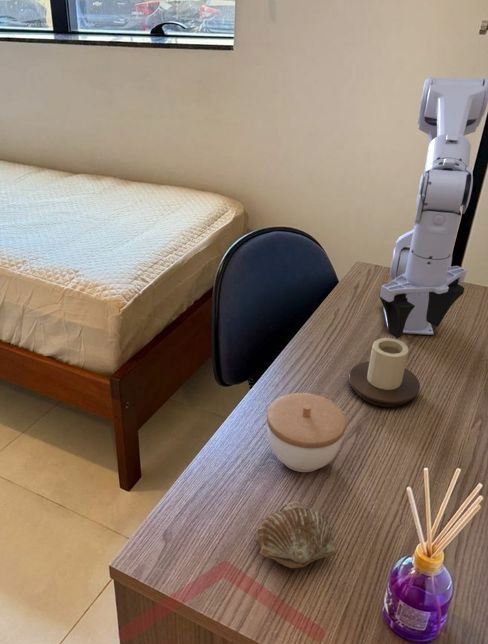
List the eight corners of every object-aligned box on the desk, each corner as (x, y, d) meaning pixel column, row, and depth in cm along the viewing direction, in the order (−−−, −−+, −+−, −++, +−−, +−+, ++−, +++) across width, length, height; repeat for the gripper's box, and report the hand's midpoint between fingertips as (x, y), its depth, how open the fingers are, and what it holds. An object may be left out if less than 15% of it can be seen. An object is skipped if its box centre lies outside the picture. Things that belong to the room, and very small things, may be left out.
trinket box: (335, 492, 81) (343, 440, 76) (257, 474, 84) (260, 424, 79) (343, 440, 89) (351, 390, 84) (271, 426, 93) (275, 377, 88)
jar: (365, 369, 101) (371, 336, 97) (399, 371, 100) (406, 339, 96) (368, 388, 96) (374, 355, 93) (403, 391, 95) (410, 357, 92)
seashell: (337, 582, 70) (320, 523, 77) (349, 547, 66) (330, 488, 72) (258, 583, 70) (248, 525, 76) (265, 548, 66) (254, 490, 72)
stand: (345, 367, 105) (347, 358, 104) (412, 372, 103) (414, 363, 101) (349, 407, 96) (351, 397, 95) (422, 414, 94) (425, 404, 92)
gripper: (410, 272, 83) (394, 353, 90) (490, 251, 87) (468, 330, 94) (376, 253, 88) (363, 330, 96) (453, 234, 93) (435, 310, 100)
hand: (413, 329), depth 95 cm, fingers open, 7 cm apart
